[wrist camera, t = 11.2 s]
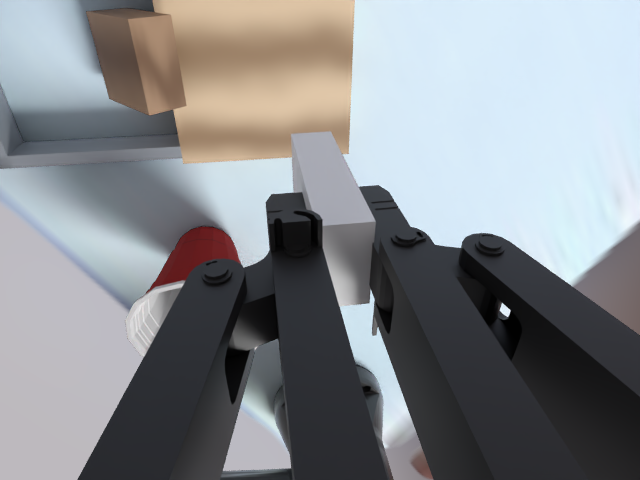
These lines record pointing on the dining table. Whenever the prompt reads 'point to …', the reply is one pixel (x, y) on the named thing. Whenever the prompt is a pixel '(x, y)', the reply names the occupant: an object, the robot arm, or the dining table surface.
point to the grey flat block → (78, 147)
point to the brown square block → (138, 58)
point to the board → (260, 75)
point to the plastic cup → (174, 282)
